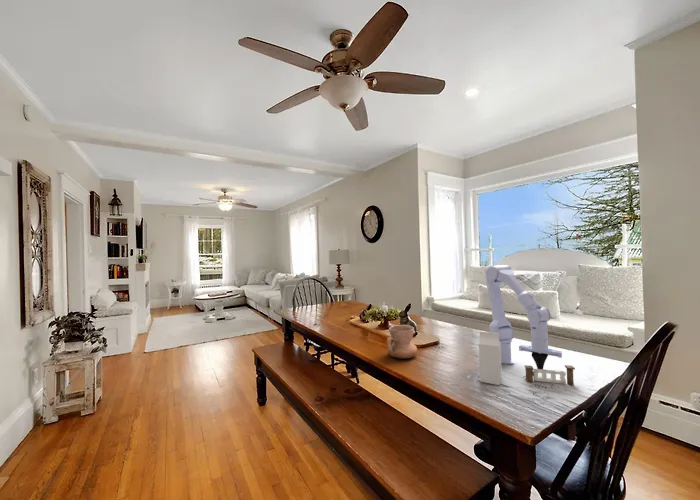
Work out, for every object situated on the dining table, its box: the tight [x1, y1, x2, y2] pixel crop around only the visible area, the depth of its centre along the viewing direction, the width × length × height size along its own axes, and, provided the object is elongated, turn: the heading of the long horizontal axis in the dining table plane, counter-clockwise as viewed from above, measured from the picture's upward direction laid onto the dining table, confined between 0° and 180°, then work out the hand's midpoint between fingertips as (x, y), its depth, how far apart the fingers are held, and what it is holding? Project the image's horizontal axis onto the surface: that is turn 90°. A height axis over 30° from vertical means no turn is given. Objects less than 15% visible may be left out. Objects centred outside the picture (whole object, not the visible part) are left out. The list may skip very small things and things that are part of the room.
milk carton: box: [478, 331, 503, 386], centre depth 119 cm, size 7×7×19 cm
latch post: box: [524, 364, 535, 383], centre depth 117 cm, size 2×2×6 cm
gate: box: [533, 368, 567, 384], centre depth 115 cm, size 10×1×4 cm, turn 72°
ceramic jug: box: [386, 324, 418, 360], centre depth 149 cm, size 18×14×14 cm
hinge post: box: [564, 364, 576, 386], centre depth 113 cm, size 2×2×7 cm
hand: (540, 371), depth 121 cm, fingers closed
